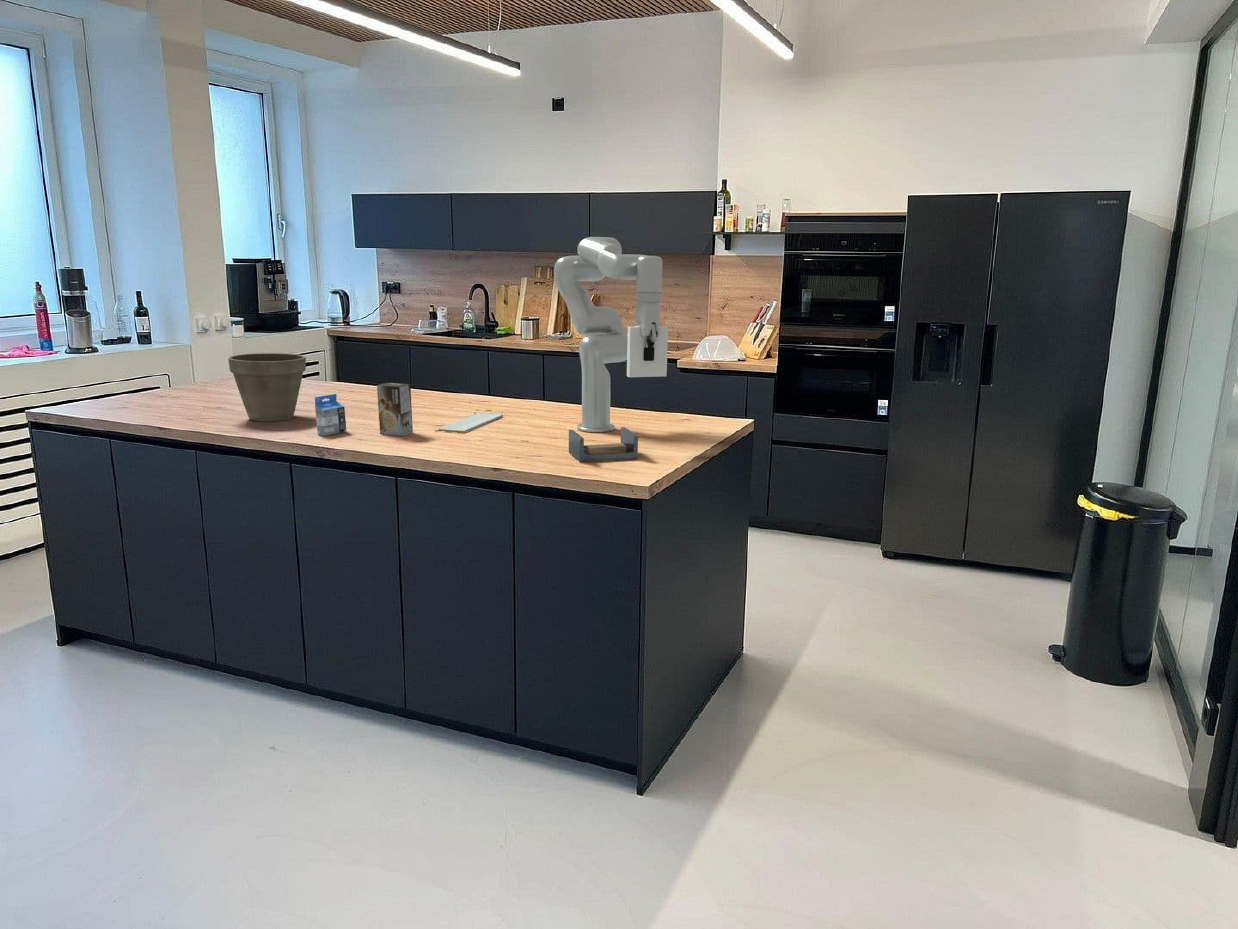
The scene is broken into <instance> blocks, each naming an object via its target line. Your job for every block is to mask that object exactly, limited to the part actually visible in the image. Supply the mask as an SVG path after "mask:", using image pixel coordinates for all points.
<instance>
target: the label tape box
mask: <svg viewBox="0 0 1238 929" xmlns="http://www.w3.org/2000/svg"><path fill="white" fill-rule="evenodd" d="M337 395H338V394H337V393H332V394H325V395H319V396H315V397H314V408H315V410H314V411H315V419H316V430H317V435H318V436H322V437H323V436H324V437H326V436H331V435H334V434H339V433H344V432H347V421H346V410H345V409H346V408H345V406H344V405H343V404H341V403H340V402H338V401H337ZM325 399H326V400H325ZM323 400H324V401H323Z"/></svg>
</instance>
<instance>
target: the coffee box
mask: <svg viewBox="0 0 1238 929" xmlns="http://www.w3.org/2000/svg"><path fill="white" fill-rule="evenodd" d="M376 391H377V392H376V394H377V408H378V423H379V433H380V435H389V436H391V435H392V436H400V437H401V436H402V437H404V436H407V435H410V434H413V433H414V431H413V430H414V428H413V425H414V424H413V409H412V408H413V407H412V392H411V391H412V390H411V384H409V383H396V382H384V383H380V384H378V385H376Z"/></svg>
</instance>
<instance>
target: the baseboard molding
mask: <svg viewBox="0 0 1238 929" xmlns="http://www.w3.org/2000/svg"><path fill="white" fill-rule="evenodd" d="M478 411H479V410H478V409H476V410H475V412H474V414H472V415H470V416H467V417H465V418H463V419H460V420H458V421H455V422H452V423H449V424H448V425H445V426H442V427H440V428H437V429H435V430H434V432H438V431H445V432H444V433H451V432H457V433H456V434H466V433H468V432H470V431H469V430H471V431H473V430H475V429H477V427H478V428H480V427H482V426H484V424H485V425H487V424H489V422H490V423H492V422H495V421H497V420H498V418H499V419H501V418H503V417H504V414H503V413H504V412H503V411H502V412H501V413H492V410H491V409H486V410H485V412H479V413H476V412H478ZM486 412H490V413H486ZM500 417H501V418H500ZM496 419H497V420H496ZM491 421H492V422H491ZM486 423H487V424H486ZM481 425H482V426H481ZM479 426H480V427H479ZM467 431H468V432H467ZM465 432H466V433H465Z"/></svg>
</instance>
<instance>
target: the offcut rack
mask: <svg viewBox="0 0 1238 929" xmlns="http://www.w3.org/2000/svg"><path fill="white" fill-rule="evenodd" d="M620 443H623V444H624V445H625V446H626V452H625V453H608V454H591V455H584V452H586V445H587V444H585V438H584V437H583V436H581V435H580V434H579V433H577V432H576V431H575V430H574V429H568V454H569V453H570V454H569V455H571V454H572V455H571V456H572V457H573V458H574V459H575V460H576V461H577V460H578V461H579V462H578V461H577V462H578V463H580V462H583V463H593V462H592V461H599V462H607V461H606V460H615V461H626V460H627V461H629V460H638V458H639V453H638V452H639V444H638V443H639V435H638V434H637V433H635V432H633V431H631V430H630V429H628V428H627V427H625V426H622V427H621V426H620ZM604 460H605V461H604Z"/></svg>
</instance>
